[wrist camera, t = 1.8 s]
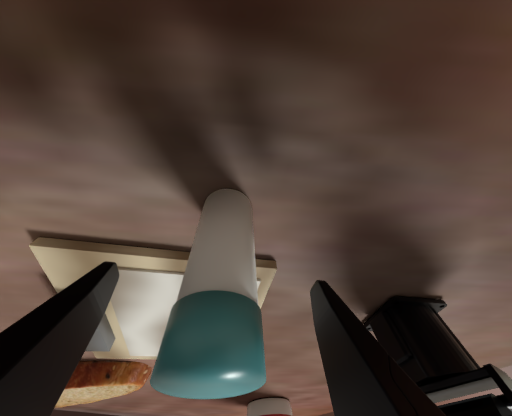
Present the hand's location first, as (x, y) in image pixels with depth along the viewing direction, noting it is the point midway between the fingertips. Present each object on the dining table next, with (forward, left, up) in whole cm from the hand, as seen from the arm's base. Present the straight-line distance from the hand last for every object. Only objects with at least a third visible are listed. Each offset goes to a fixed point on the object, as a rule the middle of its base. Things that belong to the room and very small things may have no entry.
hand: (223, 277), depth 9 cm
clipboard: (+4, +14, -5) cm, 15 cm away
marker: (0, 0, -5) cm, 5 cm away
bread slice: (+18, +32, -6) cm, 37 cm away
